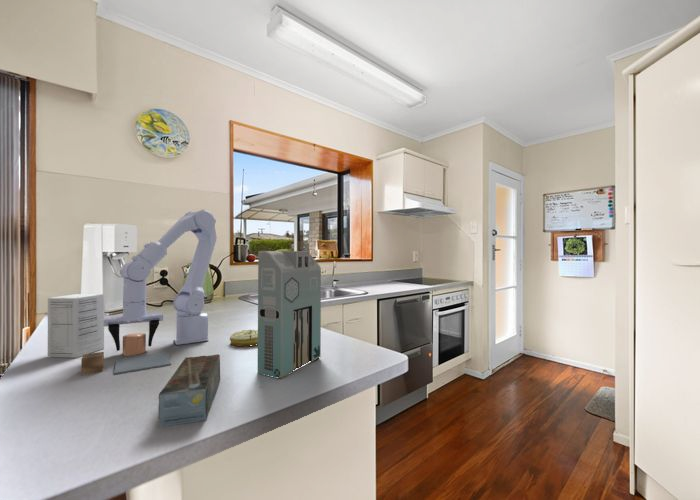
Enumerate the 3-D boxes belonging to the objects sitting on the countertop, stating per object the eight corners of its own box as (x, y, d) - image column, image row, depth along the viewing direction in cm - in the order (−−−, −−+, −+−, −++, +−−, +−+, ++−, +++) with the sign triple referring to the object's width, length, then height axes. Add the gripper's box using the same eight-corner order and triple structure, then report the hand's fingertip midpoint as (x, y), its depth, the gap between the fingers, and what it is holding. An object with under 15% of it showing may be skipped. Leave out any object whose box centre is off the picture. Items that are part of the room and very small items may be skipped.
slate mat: (167, 353, 93) (167, 351, 93) (170, 365, 83) (170, 363, 83) (116, 360, 87) (116, 359, 87) (113, 374, 77) (113, 372, 77)
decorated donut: (243, 338, 111) (243, 327, 111) (270, 340, 108) (270, 329, 108) (223, 346, 101) (223, 334, 101) (252, 349, 98) (252, 337, 98)
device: (281, 379, 74) (282, 251, 74) (256, 373, 78) (257, 251, 78) (320, 359, 88) (321, 251, 89) (298, 355, 92) (299, 251, 92)
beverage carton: (155, 429, 53) (155, 389, 54) (183, 384, 72) (183, 354, 72) (206, 422, 56) (207, 384, 56) (221, 380, 74) (221, 352, 74)
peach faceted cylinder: (145, 348, 98) (145, 332, 98) (145, 353, 93) (145, 336, 93) (122, 351, 95) (123, 334, 95) (122, 356, 90) (122, 339, 90)
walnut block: (103, 367, 82) (103, 351, 82) (102, 372, 79) (102, 355, 79) (83, 370, 80) (83, 354, 80) (81, 375, 76) (81, 358, 76)
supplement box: (105, 348, 98) (106, 293, 98) (76, 358, 88) (77, 297, 89) (77, 347, 99) (77, 293, 99) (45, 357, 89) (46, 297, 90)
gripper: (102, 305, 87) (102, 355, 86) (164, 301, 95) (163, 347, 95) (104, 302, 92) (104, 349, 92) (162, 298, 101) (162, 341, 100)
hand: (134, 347), depth 94 cm, fingers open, 7 cm apart
